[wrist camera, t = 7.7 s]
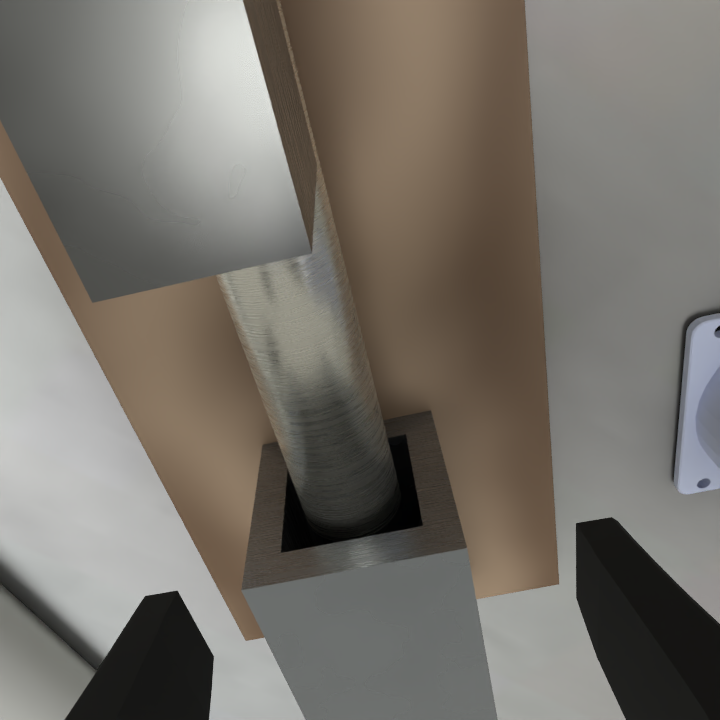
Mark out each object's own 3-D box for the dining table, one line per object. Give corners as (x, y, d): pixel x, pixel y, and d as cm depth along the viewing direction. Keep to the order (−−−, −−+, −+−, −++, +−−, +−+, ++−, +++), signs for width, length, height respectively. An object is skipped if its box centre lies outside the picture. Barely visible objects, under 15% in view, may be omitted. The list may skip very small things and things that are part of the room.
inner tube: (192, -408, 10) (-92, -1295, 3) (398, 457, 19) (435, 686, 13) (9, -352, 10) (-619, -1067, 3) (304, 476, 20) (293, 711, 13)
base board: (465, -699, 10) (479, -767, 9) (551, 565, 26) (559, 583, 25) (-296, -445, 11) (-351, -486, 10) (248, 620, 27) (246, 640, 26)
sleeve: (431, 410, 20) (466, 548, 15) (463, 578, 25) (498, 728, 20) (262, 444, 20) (241, 590, 15) (324, 604, 25) (324, 757, 20)
